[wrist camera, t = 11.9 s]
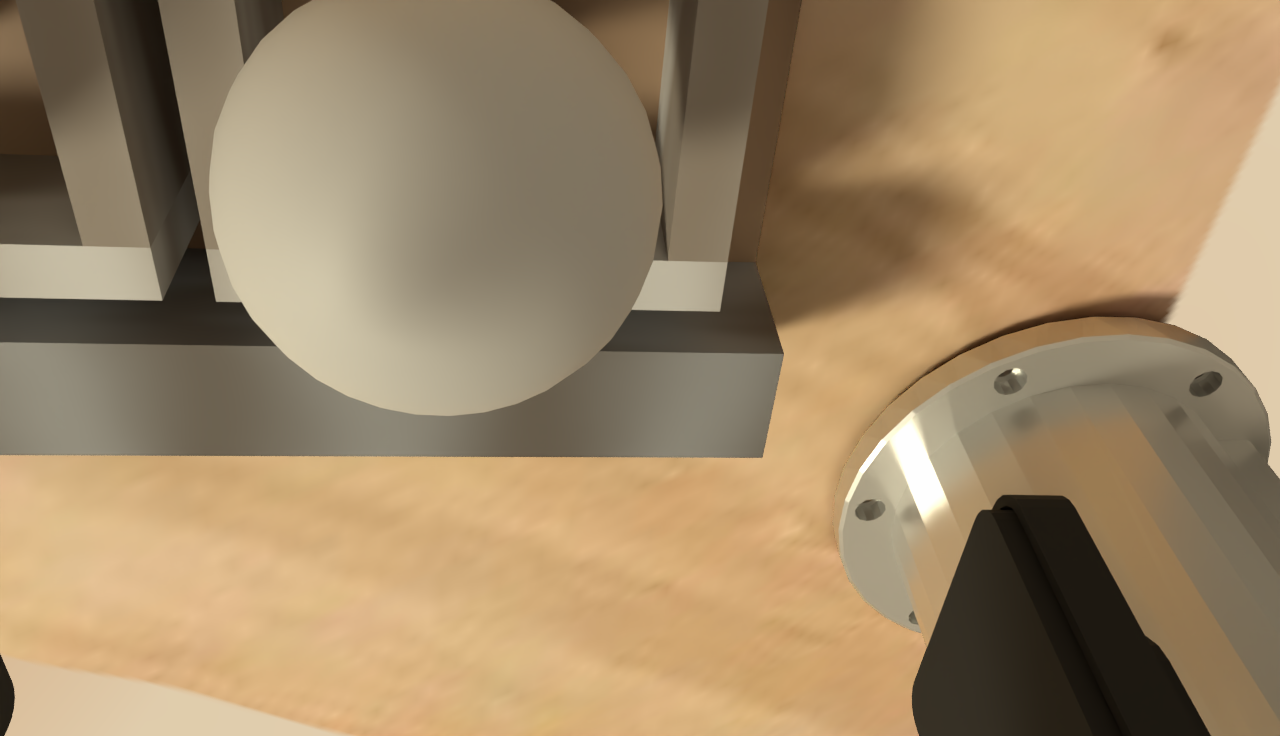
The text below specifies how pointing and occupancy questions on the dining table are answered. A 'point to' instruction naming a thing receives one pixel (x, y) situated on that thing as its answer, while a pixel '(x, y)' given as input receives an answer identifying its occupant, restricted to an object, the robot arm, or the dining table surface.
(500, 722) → the dining table surface
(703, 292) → the compartment tray
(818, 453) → the dining table surface
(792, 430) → the dining table surface
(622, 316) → the lightbulb
